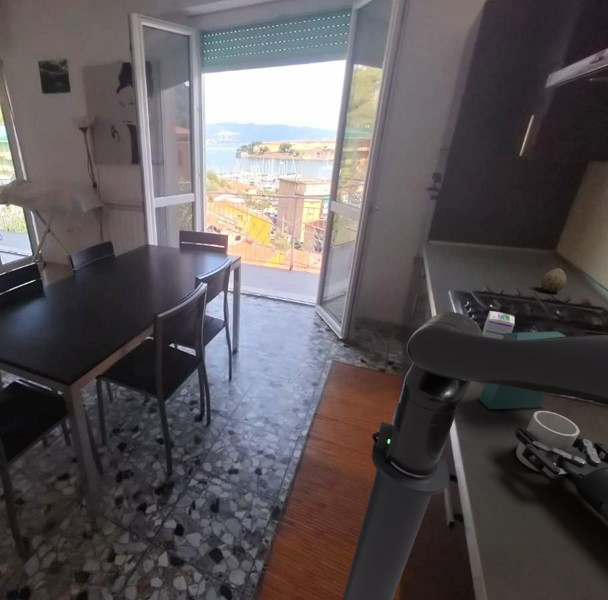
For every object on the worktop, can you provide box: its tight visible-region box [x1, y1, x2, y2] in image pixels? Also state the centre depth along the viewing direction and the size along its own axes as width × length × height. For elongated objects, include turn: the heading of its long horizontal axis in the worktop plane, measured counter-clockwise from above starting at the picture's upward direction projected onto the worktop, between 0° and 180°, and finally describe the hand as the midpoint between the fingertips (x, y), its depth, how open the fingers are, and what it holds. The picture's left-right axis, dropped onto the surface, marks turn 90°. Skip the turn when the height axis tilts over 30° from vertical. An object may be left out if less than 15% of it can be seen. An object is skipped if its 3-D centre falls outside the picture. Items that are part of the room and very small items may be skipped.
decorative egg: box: [540, 267, 567, 293], centre depth 140 cm, size 7×7×10 cm
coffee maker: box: [478, 330, 566, 410], centre depth 79 cm, size 10×12×19 cm
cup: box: [515, 410, 581, 473], centre depth 69 cm, size 6×6×10 cm
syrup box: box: [482, 310, 516, 339], centre depth 98 cm, size 6×6×14 cm
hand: (539, 429), depth 70 cm, fingers open, 8 cm apart
